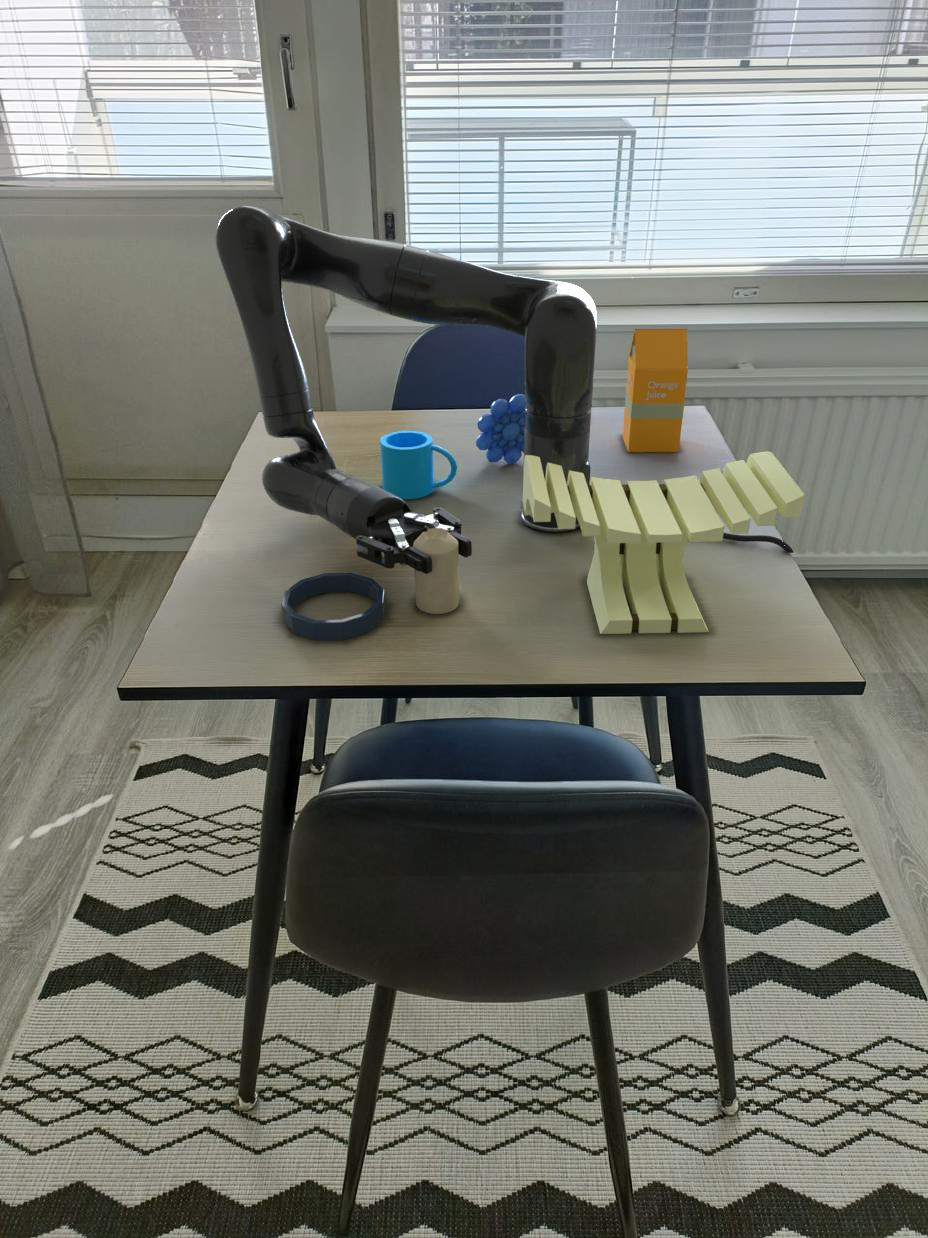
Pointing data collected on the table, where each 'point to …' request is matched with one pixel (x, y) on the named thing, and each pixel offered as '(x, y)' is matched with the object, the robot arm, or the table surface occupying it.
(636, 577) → the slatted curved stool
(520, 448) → the blue ball flower
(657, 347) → the orange juice
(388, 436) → the mug
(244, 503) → the table surface
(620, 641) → the table surface
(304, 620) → the ring
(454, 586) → the candle
